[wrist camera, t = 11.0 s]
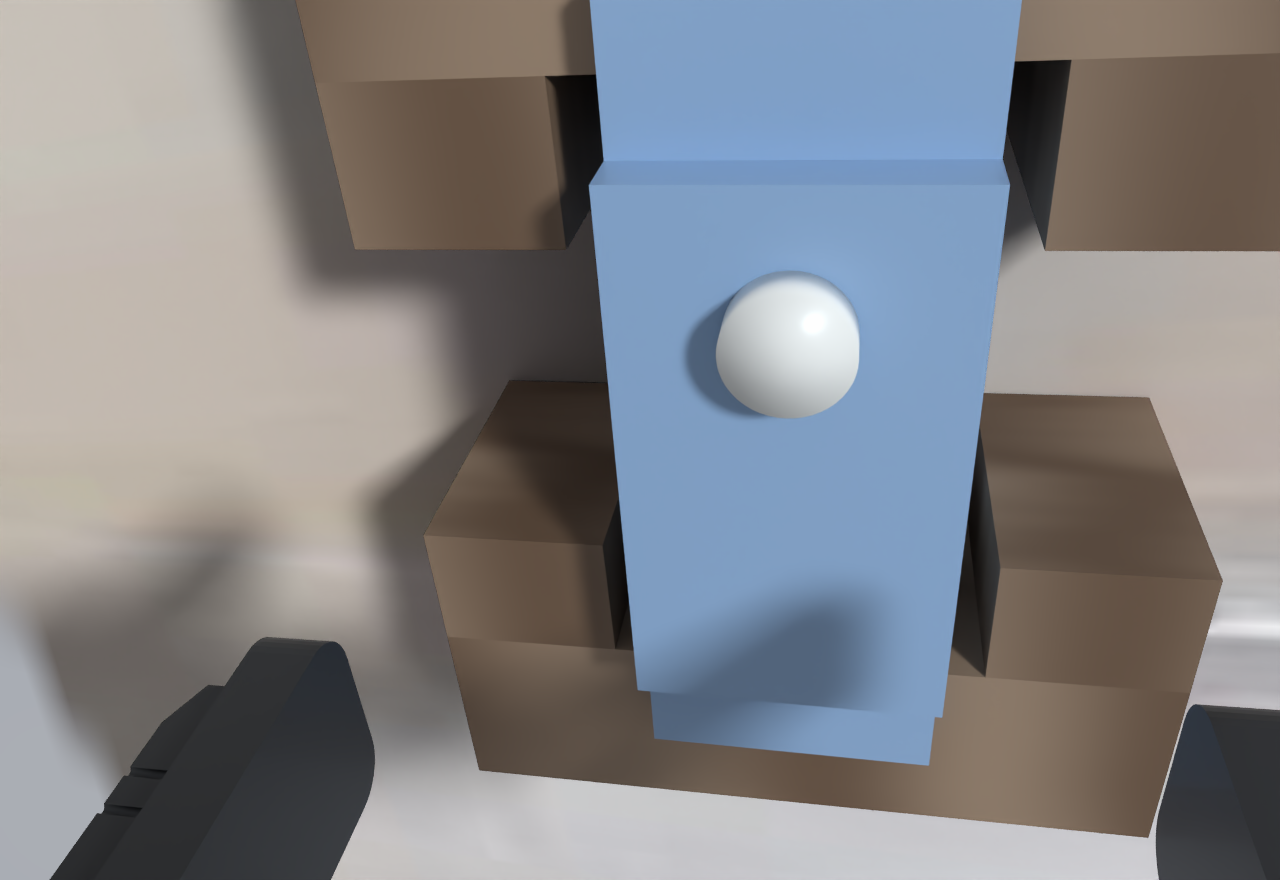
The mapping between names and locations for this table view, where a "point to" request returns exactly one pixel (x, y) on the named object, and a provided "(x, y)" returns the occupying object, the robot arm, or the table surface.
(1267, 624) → the table surface
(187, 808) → the robot arm
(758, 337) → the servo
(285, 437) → the table surface
